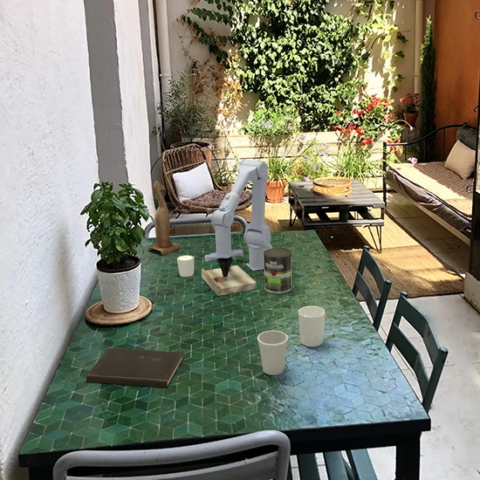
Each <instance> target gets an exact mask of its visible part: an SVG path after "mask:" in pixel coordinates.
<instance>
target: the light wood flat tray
mask: <svg viewBox="0 0 480 480" xmlns="http://www.w3.org/2000/svg"><path fill="white" fill-rule="evenodd" d="M200 273H201V278H202V279H203V280H204V282H206V284H207V285H208V286H209V287H210V289H212V291H213V292H214V293H215V294H216V295H217V296H218V297H219V296H224V295H231V294H235V293H236V294H237V293H239V292H240V293H241V292H247V291H253V290H257V281H256V280H254V278H252V277H251V276H250V275H249V274H248V273H247V272H245V271H244V270H243V269H242V268H241V267H240V266H239V265H237V264H236V265H231V269H230V270H229V272H228V277H224V276H223V275H222V271H221V268H220V267H219V268H213V269H208V270H205V269H204V268H201V272H200ZM220 277H224V278H225V279H226V281H220V282H218V279H219V278H220Z"/></svg>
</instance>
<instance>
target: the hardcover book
mask: <svg viewBox="0 0 480 480" xmlns="http://www.w3.org/2000/svg"><path fill="white" fill-rule="evenodd" d="M183 355H184V352H182V351H165V350H151V349H134V348H132V349H131V348H118V347H108V349H107V350H106V351H105V352H104V354H103V355H102V356H101V357H100V359H98V360H97V362H96V363H95V365H93V367H92V368H91V370H90V371H89V372H88V373H87V374H86V382H87V383H98V384H109V385H110V384H112V385H123V386H124V385H125V386H138V387H139V386H141V387H142V386H143V387H153V388H166V389H167V388H168V386H169V384H170V382H171V380H172V379H173V376H174V374H175V373H176V371H177V369H178V367H179V366H180V364H181V362H182V360H183Z"/></svg>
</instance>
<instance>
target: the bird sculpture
mask: <svg viewBox="0 0 480 480" xmlns="http://www.w3.org/2000/svg"><path fill="white" fill-rule="evenodd" d="M159 181H160V180H159ZM159 181H158V180H155V182H154V184H153V187H152V188H153V189H154V192H155V195H156V198H157V202H158V207H157V209H156V211H155V213H154V232H155V241H156V244H155V245H154V244H153V245H152V246H151V245H150V246H148V247H147V251H148V250H149V251H152V250H156V251H159V252H160V254H161V255H162V256H165V255H168V254H171V253H175V252H178V251H181V249H182V247H181V245H180V244H178V243H175V242H172V240H171V237H170V232H171V224H170V223H171V220H170V214H169V209H168V206H167V202H166V200H165V198H164V197H163V194H162V192H166V188H165V185H163V184H162V183H161V182H159ZM151 249H152V250H151Z"/></svg>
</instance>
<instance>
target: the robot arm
mask: <svg viewBox="0 0 480 480" xmlns="http://www.w3.org/2000/svg"><path fill="white" fill-rule="evenodd" d="M237 173H238V174H237V177H236V179H235V181H234V184H233V186H232V188H231V190H230V192H228V193H226V194H225V196H224V198H223V199H222V201H221V203H220V205H219V208H218V209H216V210H214V211H213V212H212V214H211V218H210V222H211V224H212V225H213V230H214V236H215V252H213V253H209V254H206V255H204V261H205V262H210V261H216V262H217V263H218V265H219V268H221V271H222V275H223V276H224V277H228V272H229V268H230V266H232V264H233V261H234V259H233V257H243V256H244V251H243V249H233V250H232V234H231V233H232V232H231V230H232V229H231V226H232V225H233V223H234V219H235V218H234V217H235V211H236V210H237V208H238V206H239V204H240V201H241V199H240V196H241V194H242V192H243V191H244V189H245V188H246V186H247V184H248V183H249V182H251V184H252V188H251V190H252V191H251V192H252V193H251V216H250V217H251V218H250V220H251V221H250V222H249V224H247V225H246V226H245V232H244V235H243V239H244V242H245V244H247V245H246V246H247V247H248V257H249V260H248V261H249V263H245V266H246V267H248V268H249V269H250V270H251V271H254V272H255V271H259V270H260V271H261V270H264V254H263V253H264V251H265V250H268V249H271V248H273V246H272V245H271V244H270V243H271V242H272V234H271V227H270V226H268V225H267V223H266V222H265V216H266V215H265V214H266V194H267V191H266V190H267V181H268V174H269V166H268V164H267V163H266V161H265V160H253V159H246V158H244V159H241V161H240V162H239V164H238V166H237Z"/></svg>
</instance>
